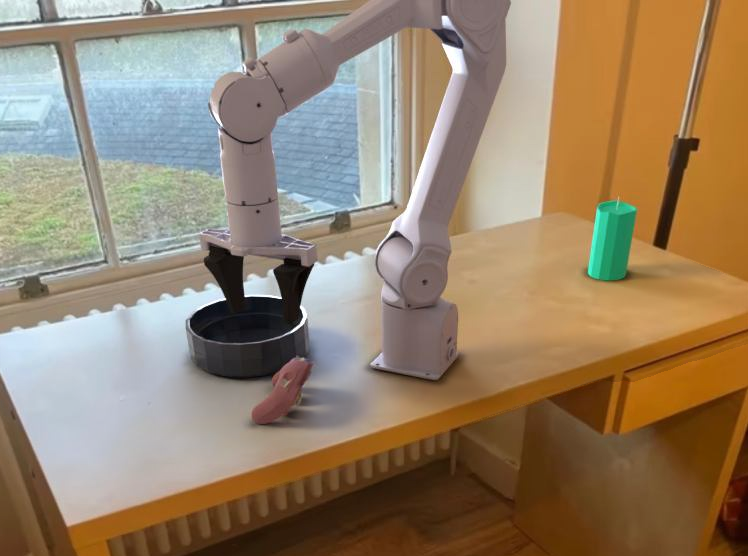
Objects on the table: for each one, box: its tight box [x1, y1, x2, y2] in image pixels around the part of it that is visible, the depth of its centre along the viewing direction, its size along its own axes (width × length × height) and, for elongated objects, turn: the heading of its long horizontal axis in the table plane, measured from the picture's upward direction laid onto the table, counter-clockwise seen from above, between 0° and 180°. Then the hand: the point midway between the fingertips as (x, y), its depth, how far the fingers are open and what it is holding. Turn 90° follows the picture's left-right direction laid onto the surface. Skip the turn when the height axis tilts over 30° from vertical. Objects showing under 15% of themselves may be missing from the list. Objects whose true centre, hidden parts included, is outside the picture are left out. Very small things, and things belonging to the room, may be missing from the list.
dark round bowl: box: [185, 294, 311, 379], centre depth 108 cm, size 16×16×5 cm
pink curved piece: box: [250, 356, 314, 425], centre depth 96 cm, size 10×5×7 cm, turn 168°
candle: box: [587, 196, 638, 281], centre depth 126 cm, size 6×6×12 cm
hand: (264, 315), depth 96 cm, fingers open, 7 cm apart
